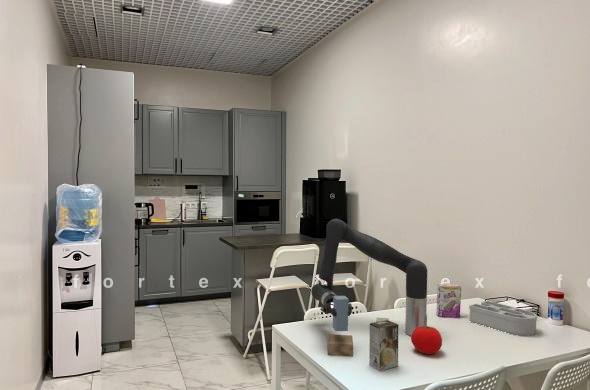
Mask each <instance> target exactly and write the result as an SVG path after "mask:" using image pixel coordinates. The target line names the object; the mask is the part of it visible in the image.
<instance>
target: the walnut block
mask: <svg viewBox="0 0 590 390" xmlns="http://www.w3.org/2000/svg"><path fill="white" fill-rule="evenodd" d="M327 335H328V337H327V355H328V356H342V357H344V356H345V357H354V340H353V338H354V337H353V335H350V334H349V335H348V334H347V335H346V334H327Z"/></svg>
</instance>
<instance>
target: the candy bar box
mask: <svg viewBox="0 0 590 390" xmlns="http://www.w3.org/2000/svg"><path fill="white" fill-rule="evenodd" d="M461 301H462V286H460V285H459V284H449V283H448V284H447V283H446V284H443V283H438V284H437V289H436V316H437V317H439V318H453V317H460V318H461Z"/></svg>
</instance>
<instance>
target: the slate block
mask: <svg viewBox="0 0 590 390" xmlns="http://www.w3.org/2000/svg"><path fill="white" fill-rule="evenodd" d="M349 300H350V299H349V298H348V297H347V296H346V295H337V296H333V309H335V310H336V312H337V316H336V317H334V316H333V315H332V328H333V330H334V331H335V332H348V331H349V316H348V304H349V303H350V301H349Z"/></svg>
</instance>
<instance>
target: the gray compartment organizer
mask: <svg viewBox="0 0 590 390" xmlns="http://www.w3.org/2000/svg"><path fill="white" fill-rule="evenodd" d="M480 303H481V304H478V303H472V304H469V307H468V310H469V322H470V321H471V322H470V323H472V322H474V323H473V324H475V323H477V324H476V325H478V324H480V325H479V326H481V325H484V326H483V327H485V326H486V327H485V328H488V327H490V328H489V329H491V328H493V329H492V330H494V329H496V330H495V331H498V330H499V331H498V332H501V331H502V333H504V332H506V333H505V334H507V333H509V334H508V335H511V334H513V335H512V336H516V335H518V336H517V337H533V336H535V335H536V333H537V321H538V315H537V314H536V313H535V312H534V311H530V310H528V309H526V310H525V309H523V308H519V307H514V306H510V305H507V304H502V303H499V302H495V301H491V300H485V301H482V302H480ZM532 335H533V336H532Z"/></svg>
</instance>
